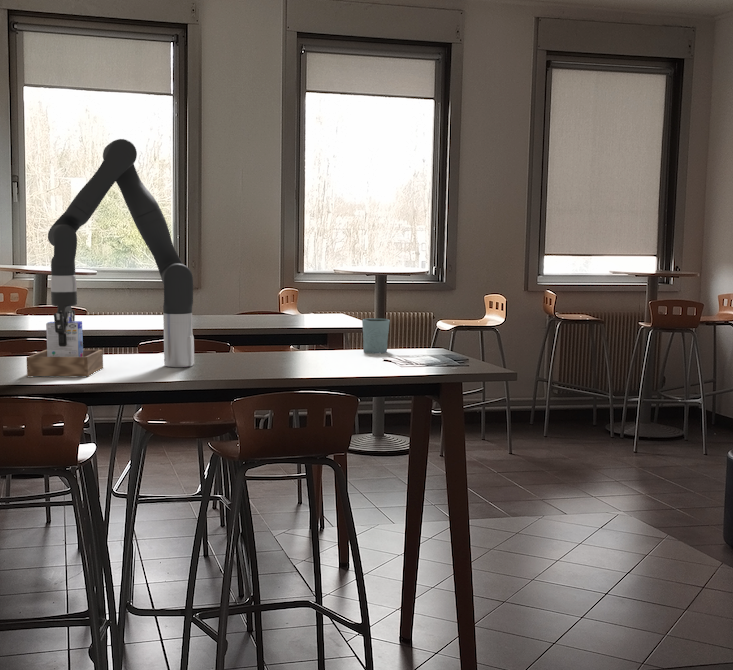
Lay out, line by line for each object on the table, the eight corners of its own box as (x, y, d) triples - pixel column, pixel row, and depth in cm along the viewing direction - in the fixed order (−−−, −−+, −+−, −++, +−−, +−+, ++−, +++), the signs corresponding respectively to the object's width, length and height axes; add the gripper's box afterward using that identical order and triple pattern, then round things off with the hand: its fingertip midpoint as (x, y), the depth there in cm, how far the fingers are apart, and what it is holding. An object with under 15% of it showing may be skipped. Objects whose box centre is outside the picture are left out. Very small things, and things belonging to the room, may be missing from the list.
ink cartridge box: (84, 359, 285) (82, 313, 283) (79, 362, 279) (78, 315, 278) (52, 359, 284) (50, 313, 283) (46, 362, 279) (45, 315, 277)
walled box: (103, 368, 292) (102, 349, 291) (88, 377, 274) (87, 357, 273) (46, 368, 291) (45, 349, 290) (27, 377, 273) (26, 357, 272)
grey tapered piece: (368, 349, 342) (368, 317, 341) (393, 351, 338) (393, 318, 337) (357, 352, 332) (358, 320, 331) (383, 354, 329) (384, 321, 328)
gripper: (69, 291, 273) (71, 348, 274) (82, 288, 287) (84, 342, 289) (44, 291, 272) (45, 348, 274) (58, 288, 287) (60, 342, 288)
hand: (65, 344), depth 281 cm, fingers closed on ink cartridge box, 5 cm apart
